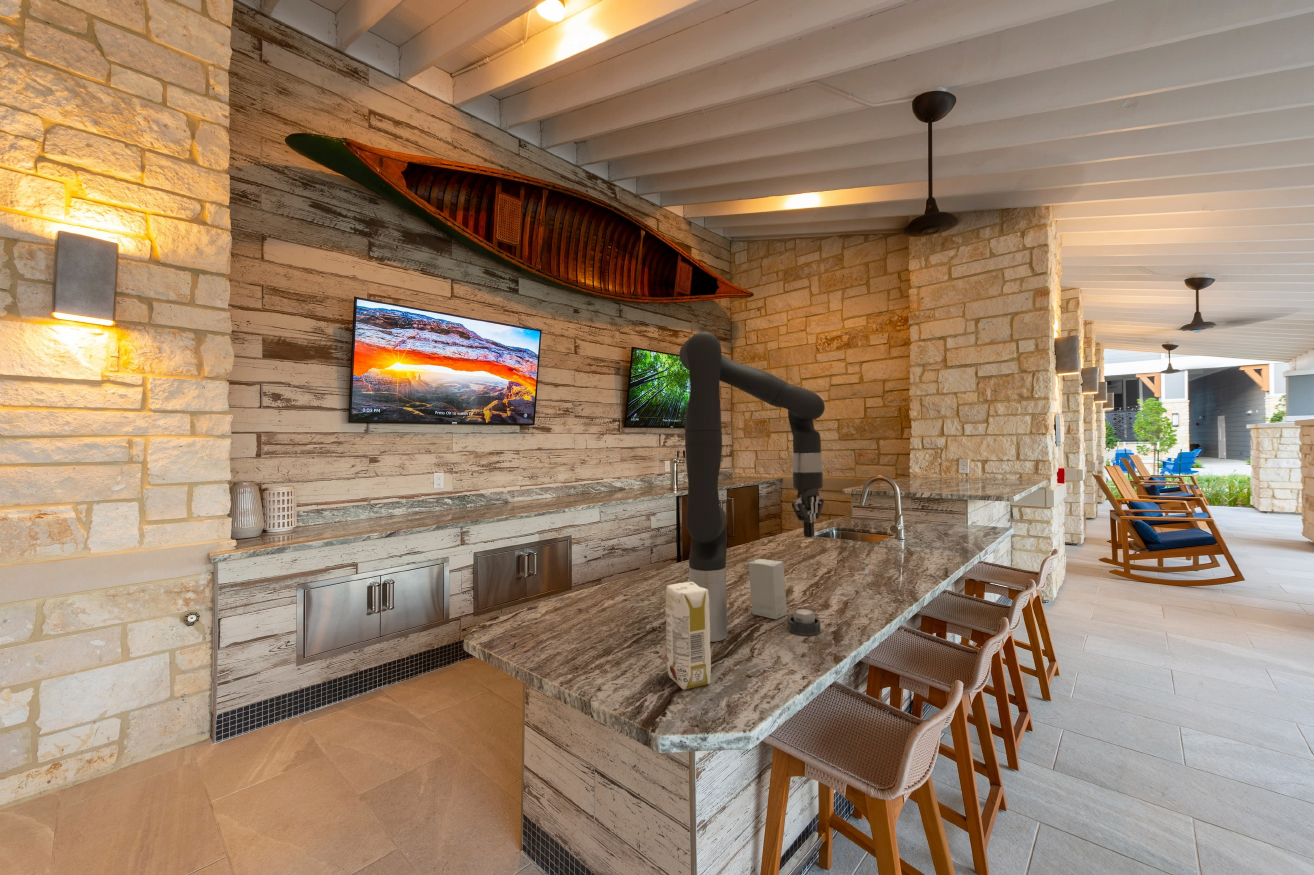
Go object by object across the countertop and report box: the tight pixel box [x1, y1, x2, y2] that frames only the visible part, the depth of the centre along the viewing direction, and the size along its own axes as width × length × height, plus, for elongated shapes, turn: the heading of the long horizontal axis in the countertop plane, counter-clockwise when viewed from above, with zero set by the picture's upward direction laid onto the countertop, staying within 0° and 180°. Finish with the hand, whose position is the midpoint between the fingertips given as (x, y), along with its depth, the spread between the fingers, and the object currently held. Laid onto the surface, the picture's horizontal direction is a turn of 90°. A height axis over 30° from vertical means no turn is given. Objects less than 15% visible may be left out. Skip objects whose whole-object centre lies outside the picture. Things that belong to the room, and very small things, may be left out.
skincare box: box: [748, 558, 788, 620], centre depth 146 cm, size 8×6×15 cm
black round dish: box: [787, 615, 821, 637], centre depth 133 cm, size 8×8×3 cm
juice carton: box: [665, 581, 712, 690], centre depth 107 cm, size 8×9×19 cm
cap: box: [793, 608, 816, 625], centre depth 133 cm, size 6×5×4 cm
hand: (809, 536), depth 136 cm, fingers closed
